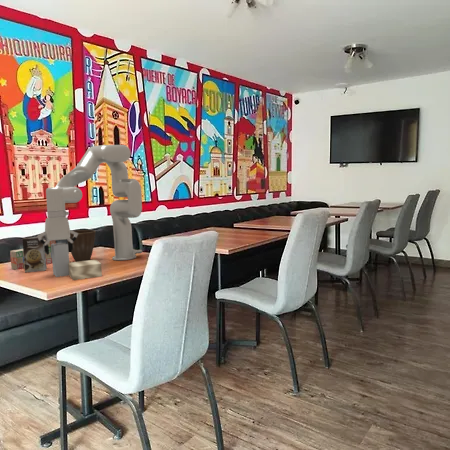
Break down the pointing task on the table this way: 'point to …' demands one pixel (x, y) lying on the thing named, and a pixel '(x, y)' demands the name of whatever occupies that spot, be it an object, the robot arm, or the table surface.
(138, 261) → the table surface
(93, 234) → the plant pot
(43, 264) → the coffee box
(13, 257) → the stack of blocks
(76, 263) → the beige metal block
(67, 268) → the grey block
